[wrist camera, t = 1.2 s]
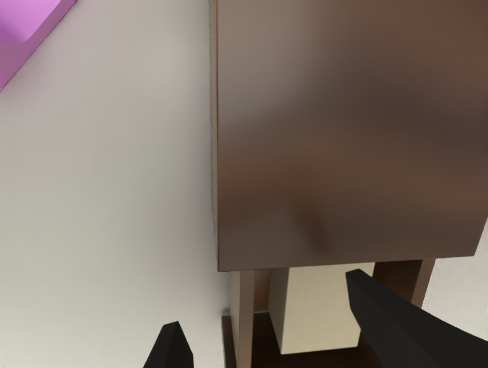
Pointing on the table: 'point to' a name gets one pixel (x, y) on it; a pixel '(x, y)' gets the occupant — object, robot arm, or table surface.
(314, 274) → the beige rectangular block
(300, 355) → the drawer
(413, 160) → the cabinet
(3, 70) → the bracket
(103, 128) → the table surface
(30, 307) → the table surface
